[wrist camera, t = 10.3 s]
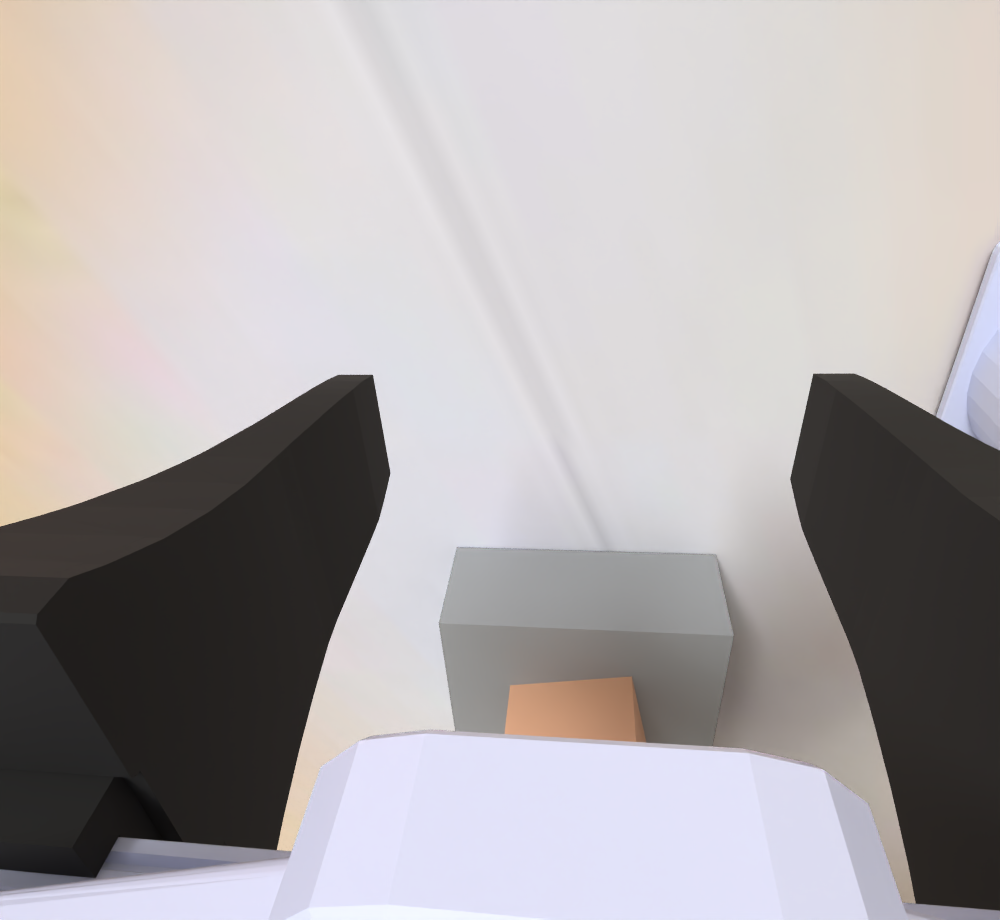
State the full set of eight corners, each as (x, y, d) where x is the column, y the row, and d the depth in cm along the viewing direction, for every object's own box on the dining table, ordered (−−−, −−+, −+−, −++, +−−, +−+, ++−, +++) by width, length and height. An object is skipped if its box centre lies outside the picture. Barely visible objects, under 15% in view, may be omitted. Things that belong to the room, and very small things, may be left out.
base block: (715, 554, 26) (733, 635, 23) (690, 717, 32) (701, 801, 29) (457, 547, 27) (438, 623, 24) (475, 705, 33) (463, 784, 30)
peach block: (631, 676, 25) (639, 797, 21) (648, 751, 27) (657, 871, 23) (509, 685, 26) (496, 802, 22) (536, 756, 28) (528, 873, 24)
